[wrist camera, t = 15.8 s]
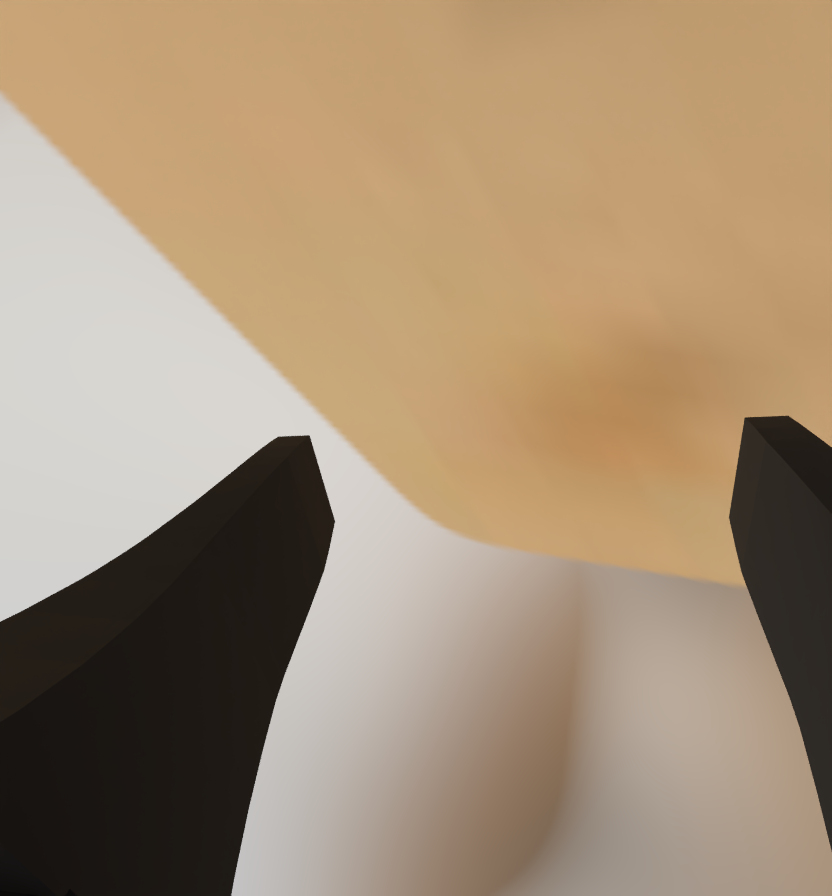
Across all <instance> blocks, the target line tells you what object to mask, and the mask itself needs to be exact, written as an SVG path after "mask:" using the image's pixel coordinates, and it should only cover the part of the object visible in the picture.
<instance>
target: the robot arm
mask: <svg viewBox="0 0 832 896" xmlns="http://www.w3.org/2000/svg"><path fill="white" fill-rule="evenodd" d="M729 519H730V524H731V528H732V533H733V538H734V542H735V547H736V551H737V555H738V559H739V563H740V567H741V572H742V575H743V577H744V580H745V583H746V585H747V588H748V591H749V593H750V596H751V599H752V601H753V604H754V606H755V609H756V612H757V614H758V617H759V620H760V622H761V625H762V627H763V630H764V633H765V635H766V638H767V640H768V643H769V645H770V648H771V650H772V653H773V656H774V658H775V661H776V664H777V666H778V669H779V671H780V674H781V676H782V679H783V682H784V684H785V687H786V689H787V692H788V695H789V697H790V700H791V703H792V706H793V709H794V711H795V715H796V718H797V721H798V724H799V727H800V730H801V734H802V737H803V741H804V745H805V748H806V752H807V756H808V760H809V764H810V767H811V771H812V775H813V778H814V782H815V786H816V790H817V793H818V798H819V802H820V806H821V809H822V813H823V818H824V821H825V826H826V830H827V834H828V838H829V842H830V846H831V850H832V447H830V446H829V445H828V444H826V443H825V442H824V441H822V440H821V439H820V438H818V437H817V436H816V435H814V434H813V433H812V432H810V431H809V430H808V429H806V428H805V427H803V426H802V425H801V424H799V423H798V422H796V421H795V420H793V419H792V418H791V417H789V416H772V417H748V418H745V420H744V426H743V432H742V439H741V445H740V451H739V458H738V464H737V470H736V477H735V483H734V489H733V496H732V502H731V508H730V515H729ZM334 523H335V520H334V517H333V513H332V510H331V507H330V503H329V500H328V496H327V493H326V490H325V486H324V483H323V480H322V476H321V473H320V469H319V466H318V463H317V459H316V456H315V453H314V449H313V446H312V442H311V439H310V436H286V437H277V438H276V439H274V440H273V441H271V442H270V443H268V444H267V445H266V446H264V447H263V448H262V449H260V450H259V451H258V452H256V453H255V454H254V455H253V456H251V457H250V458H249V459H247V460H246V461H245V462H244V463H243V464H241V465H240V466H239V467H238V468H237V469H235V470H234V471H233V472H231V474H229V475H228V476H226V477H225V478H224V479H223V480H222V481H220V482H219V483H218V484H216V485H215V486H214V487H213V488H212V489H210V490H209V491H208V492H207V493H206V494H204V495H203V496H201V497H200V498H199V499H198V500H196V501H195V502H194V503H193V504H191V505H190V506H189V507H187V508H186V509H184V510H183V511H182V512H180V513H179V514H178V515H176V516H175V517H174V518H173V519H171V520H170V521H168V522H167V523H166V524H164V525H163V526H162V527H160V528H159V529H157V530H156V531H155V532H153V533H152V534H151V535H149V536H148V537H147V538H145V539H144V540H142V541H141V542H139V543H138V544H136V545H135V546H133V547H132V548H130V549H129V550H127V551H126V552H124V553H123V554H121V555H120V556H118V557H117V558H115V559H113V560H112V561H110V562H108V563H107V564H106V565H104V566H102V567H100V568H99V569H98V570H96V571H94V572H92V573H91V574H89V575H87V576H86V577H84V578H82V579H81V580H79V581H77V582H75V583H73V584H71V585H70V586H68V587H66V588H64V589H62V590H60V591H59V592H57V593H55V594H53V595H51V596H49V597H47V598H46V599H44V600H42V601H40V602H38V603H36V604H34V605H33V606H31V607H29V608H27V609H25V610H23V611H21V612H19V613H17V614H15V615H13V616H11V617H9V618H7V619H5V620H3V621H1V622H0V896H231V893H232V888H233V882H234V877H235V872H236V867H237V862H238V857H239V853H240V847H241V843H242V838H243V833H244V828H245V824H246V819H247V814H248V809H249V805H250V801H251V797H252V793H253V788H254V784H255V780H256V776H257V772H258V767H259V763H260V759H261V755H262V751H263V747H264V743H265V739H266V735H267V732H268V728H269V724H270V721H271V717H272V713H273V709H274V705H275V702H276V699H277V696H278V693H279V690H280V687H281V684H282V681H283V678H284V675H285V672H286V669H287V667H288V664H289V662H290V659H291V657H292V654H293V651H294V649H295V646H296V643H297V641H298V638H299V636H300V633H301V630H302V628H303V625H304V623H305V620H306V617H307V615H308V612H309V610H310V607H311V604H312V602H313V599H314V596H315V593H316V591H317V588H318V586H319V583H320V580H321V577H322V574H323V572H324V568H325V564H326V560H327V556H328V551H329V548H330V543H331V537H332V532H333V528H334Z"/></svg>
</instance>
